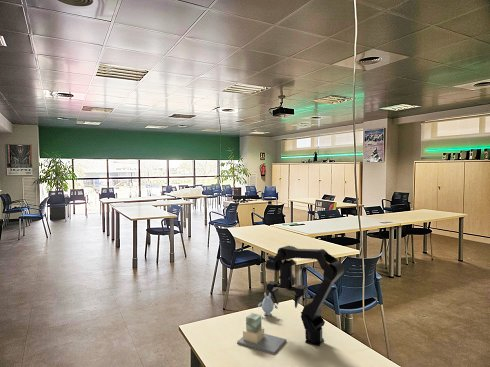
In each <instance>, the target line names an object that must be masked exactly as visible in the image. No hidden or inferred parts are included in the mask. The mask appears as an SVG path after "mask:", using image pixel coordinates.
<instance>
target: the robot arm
mask: <svg viewBox="0 0 490 367" xmlns="http://www.w3.org/2000/svg"><path fill="white" fill-rule="evenodd" d="M294 259H307V260H317V262H318V264H319V266H320V268H321V269H322V270H323V273H322V274H323V279H322V281H321V283H320V285H319V287H318V290H317V291H316V294H315V295H314V297H313V299H312V300H311V302H309V303H308V304H305V305H304V306H303V308H302V311H301V312H300V318H301V321H302V324H303V327H304V330H305V331H304V332H305V333H304V334H305V338H304V339H305V341H304V342H305V343H306V344H310V345H313V346H319V347H320V346H321V344H322V343H323V341H324V339H325V338H324V337H323V327H324V326H325V324H326V322H325V320H324V318H323V317H322V316H321V313H322V306H323V304H324V303H325V300H326V299H327V297H328V294H330V291H331V290H332V287H333V285H334V283H336V282H337V281H338V279H340V277H341V276H342V275H343V274H344V272H345V266H344V264H343V263H342V262H341V261H339V260H338V259H337V258H336V257H335V256H333V255H331V254H330V253H329V252H328V251H327V250H325V249H323V248H321V249H317V248H315V249H313V248H298V247H295V246H293V245H284V246H282V247H280V248H278V249H277V253H276V255H275V256H274V255H268V256H267V259H266V260H265V265H264V266H265V269H266V270H269V271H273V272H279V276H278V279H279V283H280V284H279V283H278V281H274V280H270V281H269V282H268V283H266V285H265V290H266V291H268V293H271V297H273V299H274V301H275V303H276V304H275V305H277V306H278V305H279V303H280V302H279V300H280V299H279V290H282V291H283V290H285V291H291V292H294V293H295V294H294V308H295V309H297V308H298V306H299V301H300V300H301V297H303V296H305V295H306V294H307V293H308V287H307V286H306V285H302V284H301V285H299V284H298V285H297V277H295V276H294V274H293V266H295V265H297V263H296V261H295V260H294ZM295 285H297V286H295Z"/></svg>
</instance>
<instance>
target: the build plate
mask: <svg viewBox="0 0 490 367" xmlns="http://www.w3.org/2000/svg"><path fill="white" fill-rule="evenodd" d="M286 342H287V338H284V337H279V336H276V335H271V334H268V333H265V328H264V327H262V326H261V329H260V330H259V331H258V332H257V333H254V332H251V331H247V330H246V328H244V329H243V330H242V337H240V339H238V340H237V344H238V345H240V346H244V347H248V348H251V349H255V350H258V351H261V352H266V353H268V354H272V355H275V354H276V353H277V352H278V351H279V350H280V349H281V348H282V347H283V346H284V345H285V343H286ZM237 344H236V345H237Z"/></svg>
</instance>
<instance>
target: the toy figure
mask: <svg viewBox="0 0 490 367" xmlns="http://www.w3.org/2000/svg"><path fill="white" fill-rule="evenodd" d="M263 296H264V298H263V300H262V302H259V303H258V305H257V307H258V308H261V309H262V311H263V312H264V313H263V315H264V316H269V317H270V316H272V312H273V310H274V309H276V310H277V309H278V305H277V304H275V303H274V302H273V299H272V298H271V297H272V294H271V293H270V292H268V295H267V293H266V292H264V293H263Z"/></svg>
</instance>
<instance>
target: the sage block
mask: <svg viewBox="0 0 490 367" xmlns="http://www.w3.org/2000/svg"><path fill="white" fill-rule="evenodd" d="M261 327H262V315H261V314H258V313H253V312H251V313H250V314H248V315H247V316H246V317H245V329H246V330H247V331H251V332H254V333H257V332H258V331H259V330H260V329H261Z"/></svg>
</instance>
